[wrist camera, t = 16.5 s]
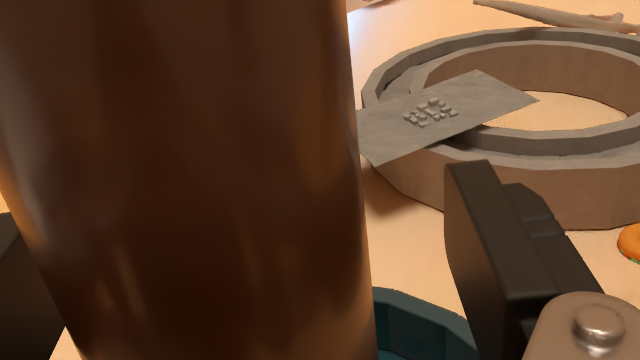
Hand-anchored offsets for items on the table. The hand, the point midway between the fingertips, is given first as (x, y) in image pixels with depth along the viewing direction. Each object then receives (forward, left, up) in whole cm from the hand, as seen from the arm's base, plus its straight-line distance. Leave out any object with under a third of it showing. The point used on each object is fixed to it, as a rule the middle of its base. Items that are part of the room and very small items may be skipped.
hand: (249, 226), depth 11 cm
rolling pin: (-1, +2, -9) cm, 9 cm away
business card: (-1, -18, -6) cm, 19 cm away
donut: (-13, -15, -9) cm, 22 cm away
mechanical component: (-5, -23, -10) cm, 25 cm away
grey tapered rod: (-7, -34, -5) cm, 35 cm away
